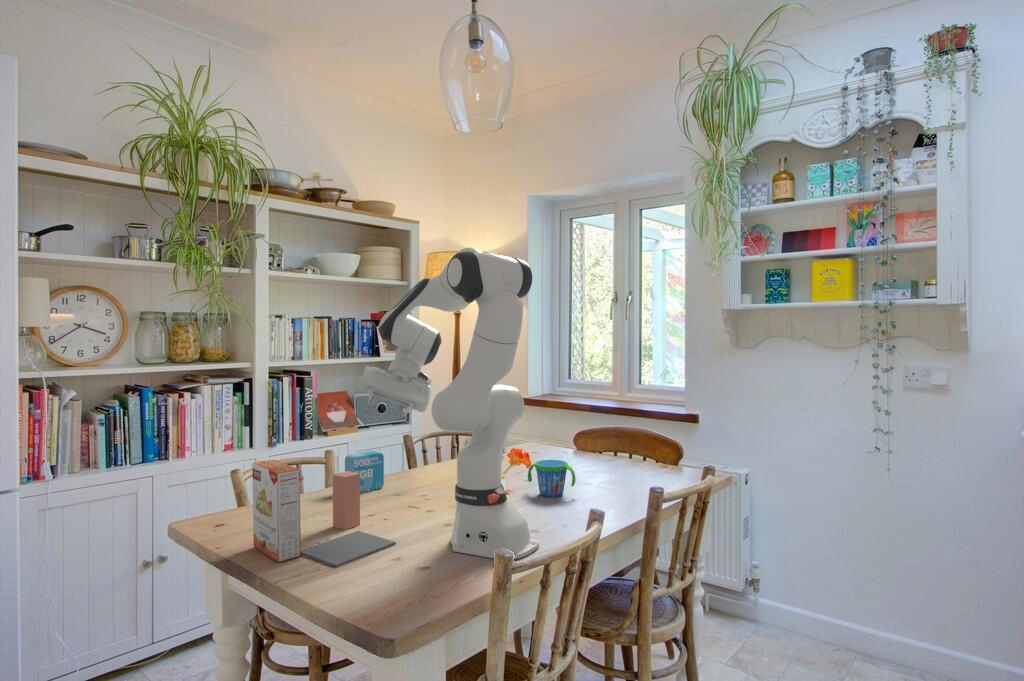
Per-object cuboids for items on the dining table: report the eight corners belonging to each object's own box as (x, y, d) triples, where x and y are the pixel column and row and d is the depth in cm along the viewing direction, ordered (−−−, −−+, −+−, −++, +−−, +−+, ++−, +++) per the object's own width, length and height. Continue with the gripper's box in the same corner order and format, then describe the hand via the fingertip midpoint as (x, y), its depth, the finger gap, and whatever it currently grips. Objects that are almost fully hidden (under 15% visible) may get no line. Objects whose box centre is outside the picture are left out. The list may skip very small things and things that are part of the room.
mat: (395, 544, 151) (395, 541, 151) (336, 567, 137) (336, 564, 137) (357, 532, 160) (357, 530, 160) (297, 553, 145) (297, 551, 145)
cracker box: (251, 548, 149) (251, 462, 148) (276, 541, 153) (275, 458, 152) (276, 564, 139) (275, 472, 138) (301, 557, 143) (301, 467, 142)
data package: (351, 495, 195) (351, 457, 195) (344, 492, 199) (344, 455, 198) (384, 488, 204) (384, 452, 204) (376, 485, 207) (376, 450, 207)
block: (359, 525, 166) (359, 473, 166) (345, 530, 162) (345, 477, 162) (347, 521, 169) (347, 471, 168) (332, 526, 165) (332, 474, 164)
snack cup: (521, 494, 196) (522, 463, 196) (537, 487, 205) (537, 457, 205) (566, 502, 188) (566, 469, 188) (580, 494, 198) (580, 462, 197)
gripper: (369, 356, 176) (352, 387, 165) (437, 381, 177) (424, 414, 166) (365, 371, 179) (348, 403, 168) (431, 395, 181) (418, 428, 170)
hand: (386, 408), depth 167 cm, fingers open, 8 cm apart
